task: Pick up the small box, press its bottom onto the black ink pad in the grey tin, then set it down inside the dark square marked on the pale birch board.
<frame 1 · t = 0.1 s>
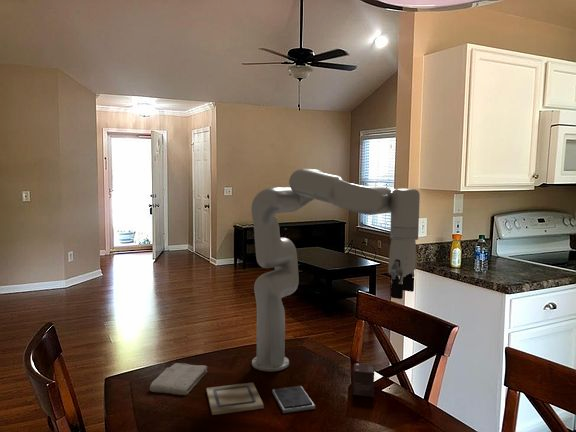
hand: (402, 294, 125), 31 cm above the table, tool pointing down, fingers open, 9 cm apart
washcloth: (180, 383, 139), on the table
ink pad: (292, 400, 128), on the table
board: (234, 399, 128), on the table
box: (363, 392, 134), on the table
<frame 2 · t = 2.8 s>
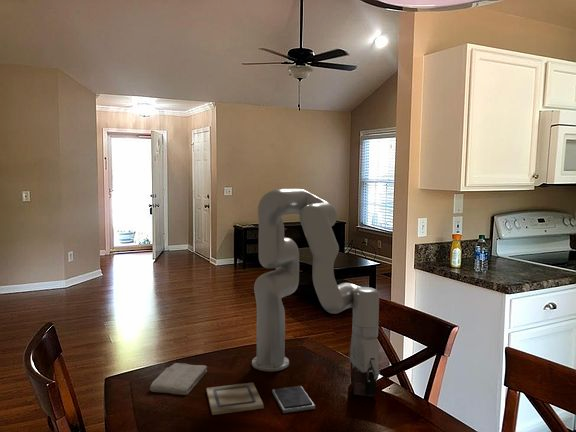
hand: (363, 387, 134), 1 cm above the table, tool pointing down, fingers closed on box, 8 cm apart
box: (363, 392, 134), on the table, touching gripper
everything else where it was.
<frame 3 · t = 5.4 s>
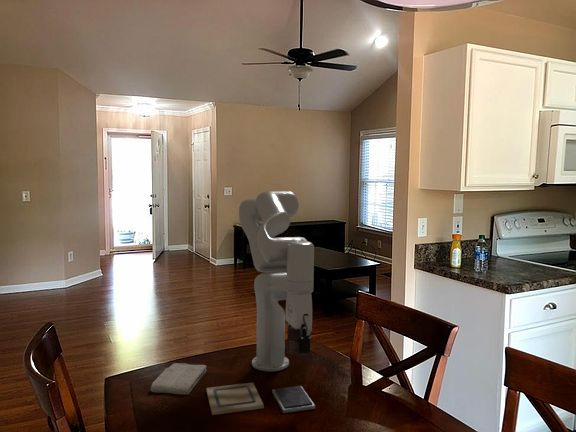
hand: (298, 346, 127), 16 cm above the table, tool pointing down, fingers closed on box, 8 cm apart
box: (298, 351, 127), point 14 cm above the table, touching gripper
everything else where it was.
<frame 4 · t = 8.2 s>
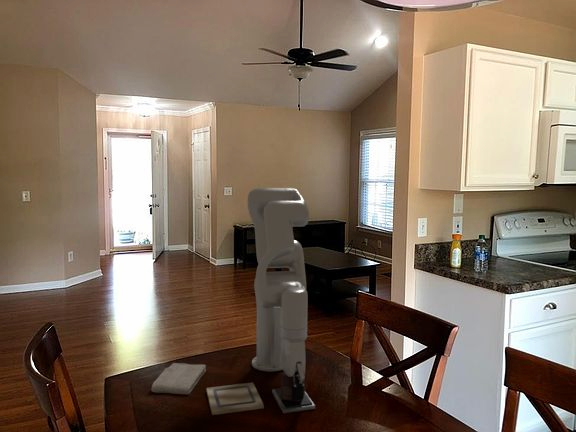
hand: (293, 392, 127), 3 cm above the table, tool pointing down, fingers closed on box, 8 cm apart
box: (293, 396, 128), point 1 cm above the table, touching gripper, ink pad
everything else where it was.
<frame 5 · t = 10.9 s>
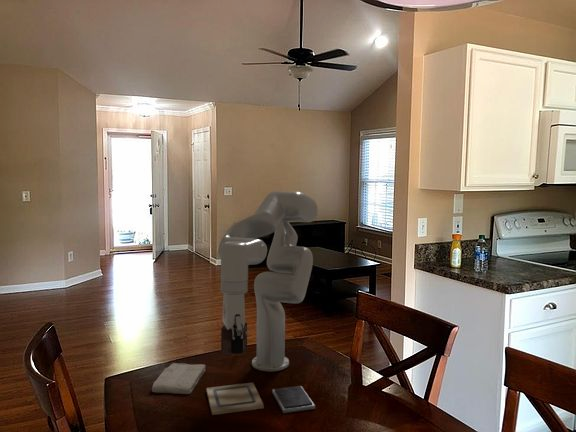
hand: (234, 346, 127), 15 cm above the table, tool pointing down, fingers closed on box, 8 cm apart
box: (234, 351, 127), point 14 cm above the table, touching gripper
everything else where it was.
when the fingers open (4 cm above the table, at t = 13.6 s): box drops 1 cm, resting on board.
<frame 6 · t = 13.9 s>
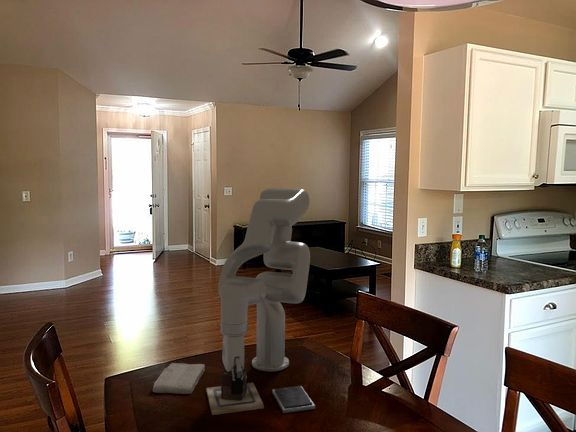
hand: (234, 385, 128), 4 cm above the table, tool pointing down, fingers open, 9 cm apart
box: (234, 396, 128), point 1 cm above the table, touching board
everything else where it was.
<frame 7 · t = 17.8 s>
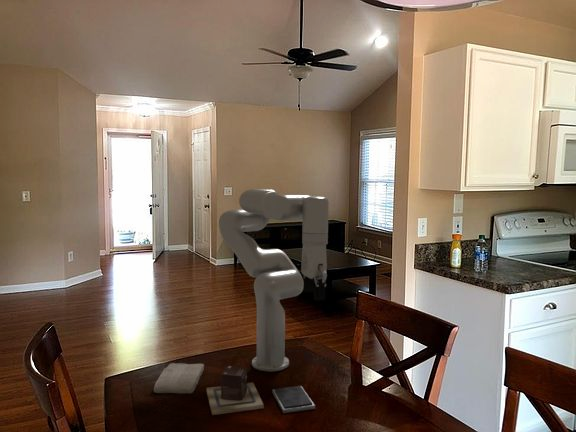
hand: (314, 295, 133), 28 cm above the table, tool pointing down, fingers open, 9 cm apart
nothing on the table moved.
at the end: box 0.3 cm off-centre on the board, point 0.8 cm above the board's base; box tilted 0°; the gripper is holding nothing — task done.
